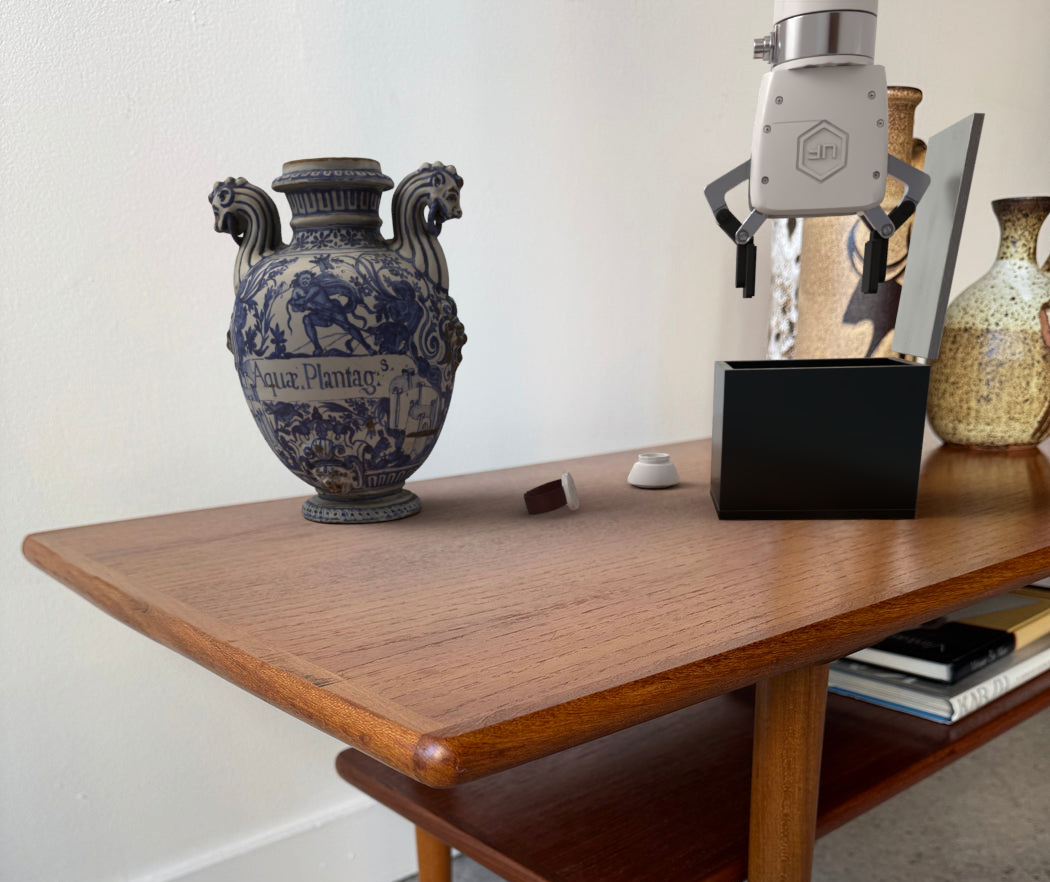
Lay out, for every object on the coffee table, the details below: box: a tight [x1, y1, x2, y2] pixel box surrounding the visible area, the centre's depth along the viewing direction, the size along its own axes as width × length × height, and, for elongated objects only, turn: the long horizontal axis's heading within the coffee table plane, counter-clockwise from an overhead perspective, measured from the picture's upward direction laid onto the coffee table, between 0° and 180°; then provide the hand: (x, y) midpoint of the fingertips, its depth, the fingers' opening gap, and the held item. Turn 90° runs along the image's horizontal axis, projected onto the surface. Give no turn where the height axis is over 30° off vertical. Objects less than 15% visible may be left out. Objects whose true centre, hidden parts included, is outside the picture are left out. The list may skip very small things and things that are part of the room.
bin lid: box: [890, 112, 986, 361], centre depth 82 cm, size 17×13×1 cm
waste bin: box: [709, 356, 932, 521], centre depth 88 cm, size 16×13×12 cm
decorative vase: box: [207, 156, 468, 524], centre depth 88 cm, size 21×19×28 cm
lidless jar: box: [627, 452, 680, 489], centre depth 102 cm, size 5×3×5 cm
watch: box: [523, 469, 579, 516], centre depth 91 cm, size 8×5×4 cm, turn 168°
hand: (808, 295), depth 85 cm, fingers open, 9 cm apart
